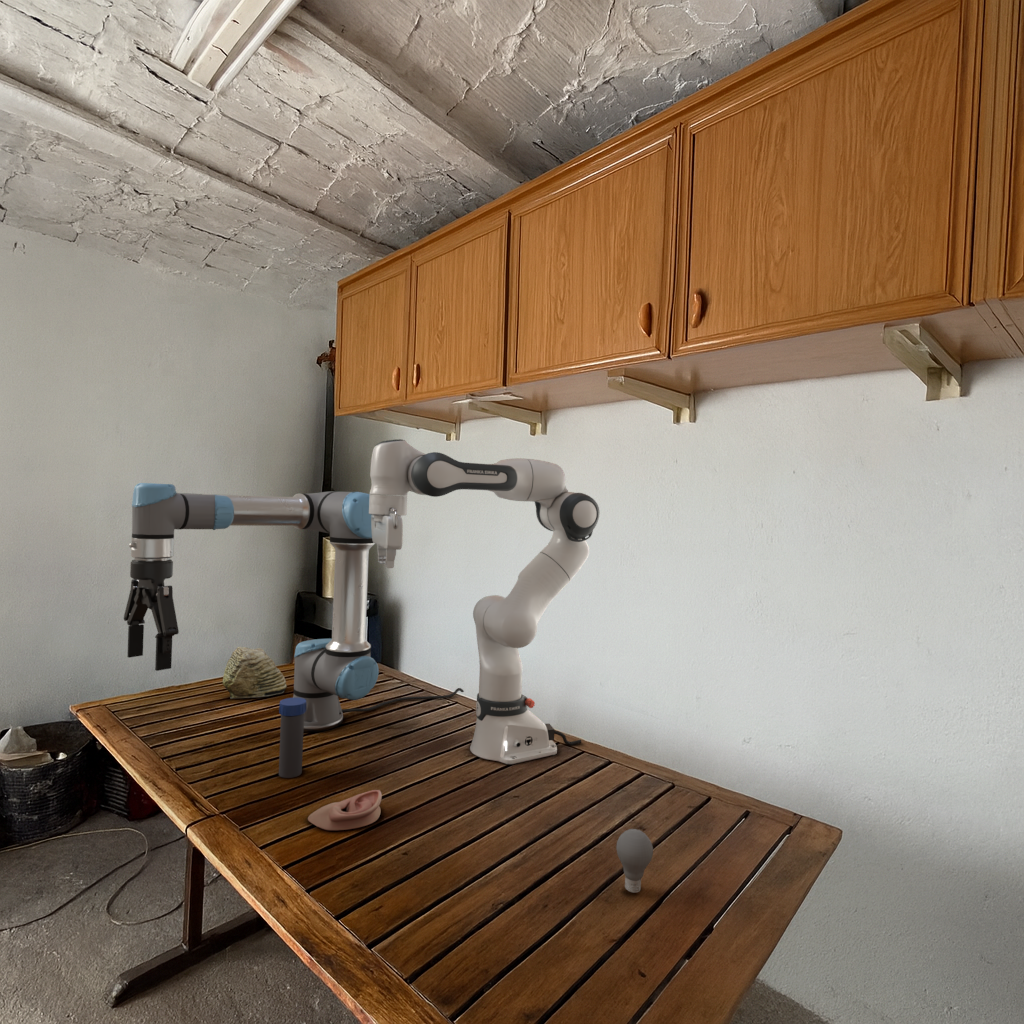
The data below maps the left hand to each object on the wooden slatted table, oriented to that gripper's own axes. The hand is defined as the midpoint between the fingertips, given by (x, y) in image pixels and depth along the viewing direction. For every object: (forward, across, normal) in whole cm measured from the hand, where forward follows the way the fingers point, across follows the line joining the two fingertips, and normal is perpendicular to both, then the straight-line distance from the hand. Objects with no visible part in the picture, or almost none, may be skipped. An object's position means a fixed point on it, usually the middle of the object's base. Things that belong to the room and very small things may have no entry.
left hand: (148, 662), depth 129 cm
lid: (+12, +10, +27) cm, 31 cm away
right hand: (-20, +20, +44) cm, 52 cm away
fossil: (+28, -47, +50) cm, 74 cm away
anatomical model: (+28, +36, +23) cm, 51 cm away
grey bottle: (+28, +10, +27) cm, 40 cm away
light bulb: (+28, +90, +41) cm, 103 cm away
